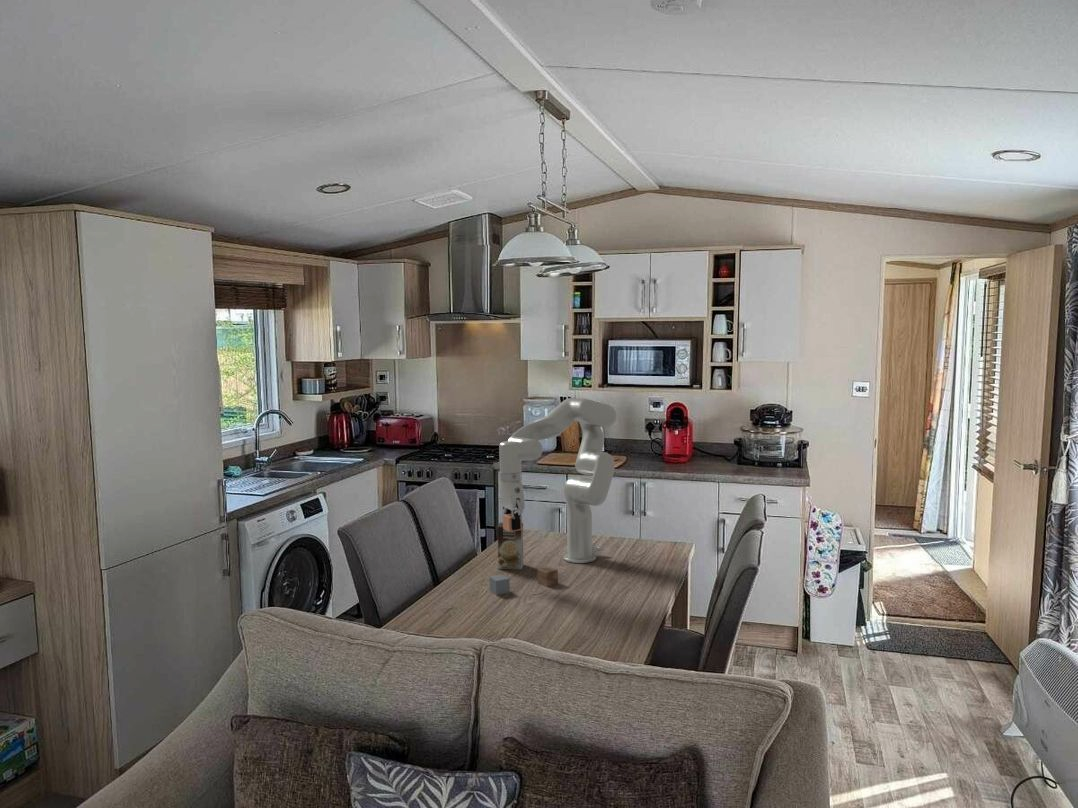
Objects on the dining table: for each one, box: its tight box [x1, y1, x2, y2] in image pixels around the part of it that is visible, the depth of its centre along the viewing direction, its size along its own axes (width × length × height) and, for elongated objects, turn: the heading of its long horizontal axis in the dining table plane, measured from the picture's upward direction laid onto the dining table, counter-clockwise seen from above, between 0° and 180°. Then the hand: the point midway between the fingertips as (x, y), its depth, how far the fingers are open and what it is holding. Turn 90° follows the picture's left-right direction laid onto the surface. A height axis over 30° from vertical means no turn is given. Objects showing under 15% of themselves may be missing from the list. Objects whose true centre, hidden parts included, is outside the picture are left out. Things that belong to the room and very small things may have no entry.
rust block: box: [502, 513, 523, 532], centre depth 264 cm, size 5×5×5 cm
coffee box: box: [497, 522, 524, 570], centre depth 280 cm, size 9×6×16 cm
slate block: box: [489, 573, 511, 596], centre depth 254 cm, size 5×5×5 cm
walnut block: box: [537, 565, 559, 587], centre depth 262 cm, size 5×5×5 cm
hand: (512, 527), depth 264 cm, fingers closed on rust block, 5 cm apart
